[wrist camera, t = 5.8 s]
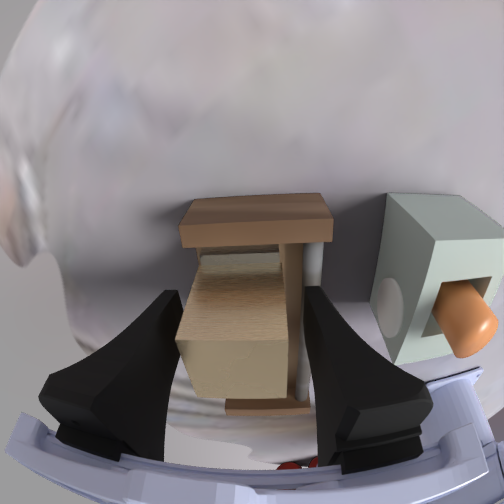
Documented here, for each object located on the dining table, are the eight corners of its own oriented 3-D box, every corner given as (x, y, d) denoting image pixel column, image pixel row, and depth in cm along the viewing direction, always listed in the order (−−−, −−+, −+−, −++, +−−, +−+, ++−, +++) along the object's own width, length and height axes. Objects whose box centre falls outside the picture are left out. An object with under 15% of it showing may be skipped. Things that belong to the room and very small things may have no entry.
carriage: (281, 316, 15) (286, 403, 11) (215, 318, 16) (199, 402, 11) (280, 241, 13) (288, 327, 8) (201, 244, 13) (171, 329, 9)
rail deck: (306, 381, 21) (309, 413, 18) (230, 383, 21) (226, 415, 19) (320, 193, 13) (333, 218, 11) (194, 199, 14) (178, 225, 11)
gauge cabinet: (435, 295, 16) (467, 349, 12) (365, 303, 17) (389, 366, 12) (461, 195, 13) (516, 238, 8) (382, 193, 13) (430, 240, 9)
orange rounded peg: (458, 310, 12) (483, 351, 9) (422, 316, 12) (445, 362, 9) (473, 271, 11) (506, 312, 8) (436, 275, 11) (468, 321, 8)
